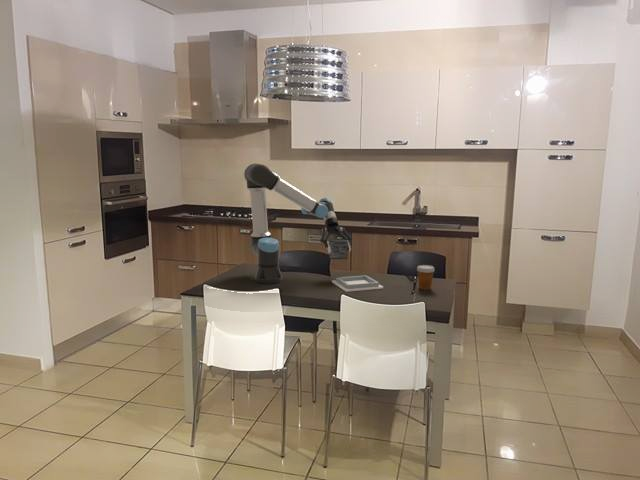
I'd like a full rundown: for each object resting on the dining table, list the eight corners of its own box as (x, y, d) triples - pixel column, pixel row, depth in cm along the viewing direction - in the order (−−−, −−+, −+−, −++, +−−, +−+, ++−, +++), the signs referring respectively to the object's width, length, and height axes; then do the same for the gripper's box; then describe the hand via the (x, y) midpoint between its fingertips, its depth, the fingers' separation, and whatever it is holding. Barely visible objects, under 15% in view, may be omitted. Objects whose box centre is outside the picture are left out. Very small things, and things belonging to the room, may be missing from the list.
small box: (347, 257, 297) (347, 239, 295) (347, 259, 291) (348, 241, 289) (329, 256, 298) (329, 239, 296) (328, 259, 291) (329, 241, 289)
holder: (345, 291, 268) (345, 286, 267) (331, 282, 286) (332, 277, 285) (383, 288, 275) (383, 283, 274) (367, 279, 293) (367, 274, 293)
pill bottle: (423, 291, 271) (424, 269, 268) (412, 287, 279) (413, 265, 277) (437, 289, 275) (438, 267, 273) (425, 285, 283) (427, 264, 281)
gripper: (347, 224, 310) (356, 253, 298) (310, 225, 302) (318, 256, 290) (351, 216, 304) (360, 246, 292) (313, 217, 296) (321, 248, 284)
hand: (339, 251), depth 291 cm, fingers closed on small box, 11 cm apart
